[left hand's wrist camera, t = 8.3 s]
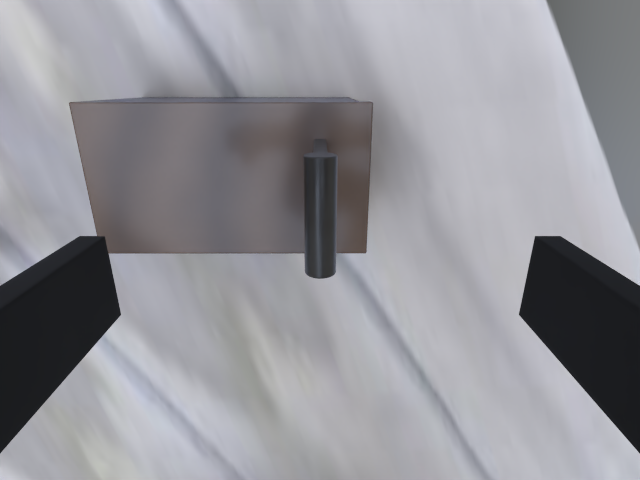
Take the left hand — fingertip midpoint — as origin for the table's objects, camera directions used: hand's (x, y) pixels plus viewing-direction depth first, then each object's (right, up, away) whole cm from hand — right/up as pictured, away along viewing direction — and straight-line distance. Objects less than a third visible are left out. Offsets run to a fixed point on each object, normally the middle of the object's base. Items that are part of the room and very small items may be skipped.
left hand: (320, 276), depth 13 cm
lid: (-6, +5, +13) cm, 15 cm away
